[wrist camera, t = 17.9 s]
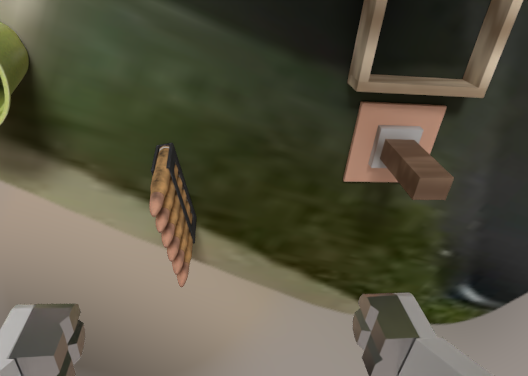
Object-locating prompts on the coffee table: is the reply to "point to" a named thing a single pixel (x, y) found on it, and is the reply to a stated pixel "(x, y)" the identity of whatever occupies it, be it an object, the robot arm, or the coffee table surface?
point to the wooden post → (410, 162)
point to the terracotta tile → (387, 115)
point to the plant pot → (10, 66)
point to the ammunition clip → (172, 209)
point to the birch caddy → (472, 84)
